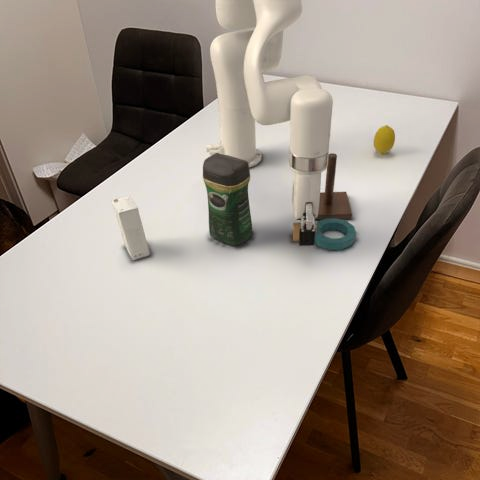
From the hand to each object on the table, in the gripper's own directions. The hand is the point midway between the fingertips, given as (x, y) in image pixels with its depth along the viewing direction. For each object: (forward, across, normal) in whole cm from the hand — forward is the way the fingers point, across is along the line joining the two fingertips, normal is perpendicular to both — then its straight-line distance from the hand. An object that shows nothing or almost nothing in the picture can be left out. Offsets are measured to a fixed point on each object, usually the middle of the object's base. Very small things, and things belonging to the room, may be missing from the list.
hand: (304, 231), depth 104 cm
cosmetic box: (+2, +3, -38) cm, 38 cm away
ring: (+2, 0, +4) cm, 5 cm away
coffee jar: (+2, -2, -17) cm, 17 cm away
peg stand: (+2, -12, +6) cm, 14 cm away
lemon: (+2, -39, +24) cm, 46 cm away
